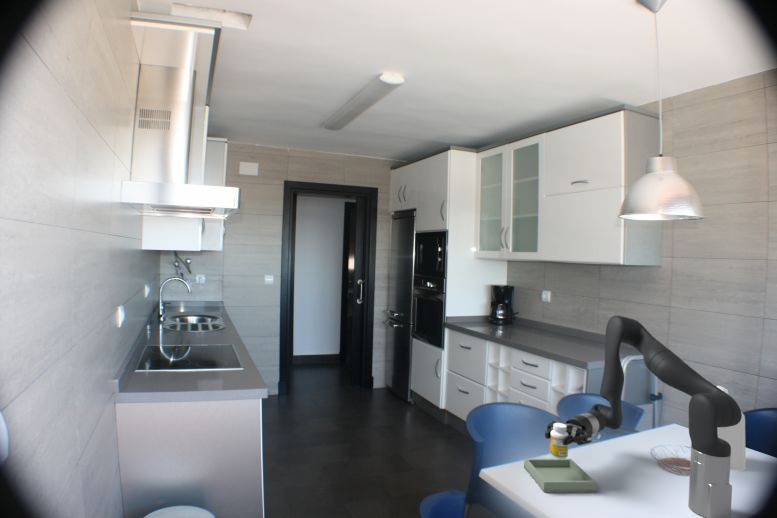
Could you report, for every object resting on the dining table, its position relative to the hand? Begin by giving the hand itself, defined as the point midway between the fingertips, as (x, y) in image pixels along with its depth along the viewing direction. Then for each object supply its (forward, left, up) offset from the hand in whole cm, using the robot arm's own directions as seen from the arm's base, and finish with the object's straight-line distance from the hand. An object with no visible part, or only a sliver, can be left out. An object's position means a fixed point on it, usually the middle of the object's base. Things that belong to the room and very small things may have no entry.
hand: (555, 438), depth 148 cm
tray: (+1, -2, -13) cm, 14 cm away
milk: (+14, -67, -14) cm, 70 cm away
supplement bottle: (+2, -2, -6) cm, 7 cm away
